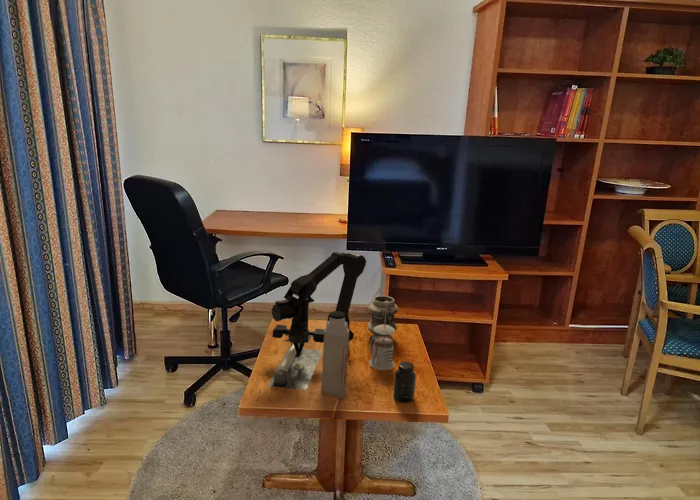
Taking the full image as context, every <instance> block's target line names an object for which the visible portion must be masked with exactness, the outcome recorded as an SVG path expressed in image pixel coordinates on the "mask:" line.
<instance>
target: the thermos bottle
mask: <svg viewBox="0 0 700 500" xmlns="http://www.w3.org/2000/svg"><path fill="white" fill-rule="evenodd" d="M329 314H330V321H328V322H327V321H326V323H327V324H326V323H325V326H326V327H324V328H323V329H324V342H323V345H322V346H323V348H322V349H323V350H322V373H321V391H322V392H323V393H325V394H327V395H330V396H337V397H336V400H338V399H341V398H344V397H345V395H346V391H347V390H346V389H347V375H348V358H349V357H348V355H349V349H348V343H349V344H350V341H349V330H350V328H349V329H348V326H347V322H345V313H343V312H340V311H335V310H334V311H330V313H329Z"/></svg>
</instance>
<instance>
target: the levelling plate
mask: <svg viewBox="0 0 700 500" xmlns="http://www.w3.org/2000/svg"><path fill="white" fill-rule="evenodd" d="M290 348H291V346H289V347H288V348H287V351H286V352H285V353H284V356H283V357H282V359H281V361H280V363H279V365H278V367H277V368H276V370H275V371H277V370H281V365H282V363H283V361H284V359H285V357H286V356H287V354H288V352H289V350H290ZM322 354H323V350H318V349H309V348H303V349H302V352H301V354H300V356H298V355H297V354H296V356H295V358H294V360H293V362H292V363H291V365H290V367H289V369H288V371H287V383H286V384H283V385H277V384H275V383H274V374H273V375H272V377H271V379H270V380H269V382H268V384H267V387H276V388H283V389H291V390H300V391H307V390H308V387H309V385H310V382H311V380H312V378H313V375H314V372H315V370H316V367H317V365H318V363H319V360H320V358H321V356H322Z"/></svg>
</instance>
